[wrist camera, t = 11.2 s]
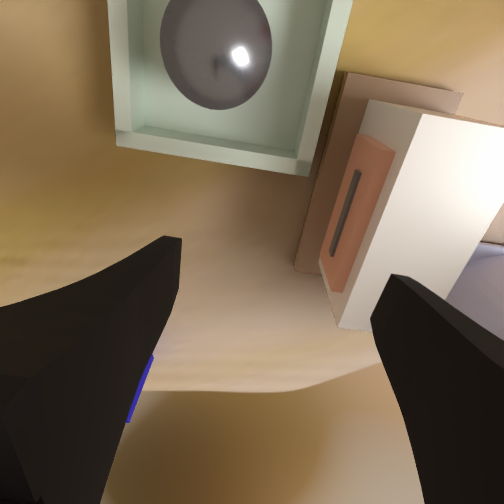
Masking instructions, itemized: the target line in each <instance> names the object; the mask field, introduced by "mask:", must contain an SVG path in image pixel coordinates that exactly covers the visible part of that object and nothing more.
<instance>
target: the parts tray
mask: <svg viewBox="0 0 504 504" xmlns="http://www.w3.org/2000/svg"><path fill="white" fill-rule="evenodd" d="M169 2H170V0H107V3H108V19H109V35H110V51H111V67H112V84H113V100H114V116H115V132H116V146H121V147H127V148H133V149H139V150H145V151H151V152H157V153H163V154H169V155H176V156H182V157H188V158H194V159H200V160H206V161H212V162H218V163H225V164H231V165H237V166H243V167H249V168H255V169H261V170H267V171H274V172H280V173H286V174H292V175H298V176H304V177H309V173H310V169H311V165H312V161H313V157H314V153H315V149H316V145H317V141H318V137H319V134H320V130H321V126H322V122H323V118H324V114H325V110H326V106H327V102H328V98H329V94H330V90H331V86H332V82H333V78H334V74H335V70H336V66H337V62H338V58H339V54H340V50H341V46H342V42H343V38H344V34H345V30H346V26H347V22H348V18H349V14H350V10H351V6H352V2H353V0H258V2H259V3H260V5H261V6H262V8H263V10H264V12H265V14H266V17H267V20H268V23H269V26H270V30H271V37H272V57H271V63H270V67H269V70H268V73H267V76H266V78H265V80H264V82H263V84H262V85H261V87H260V88H259V90H258V91H257V92H256V93H255V94H254V95H253V96H252V97H251V98H250V99H249V100H248V101H246V102H245V103H243V104H241V105H239V106H237V107H234V108H231V109H226V110H212V109H207V108H204V107H201V106H199V105H197V104H195V103H193V102H191V101H190V100H189V99H187V98H186V97H185V96H184V95H183V94H182V93H181V92H180V91H179V90H178V89H177V88H176V86H175V85H174V84H173V82H172V81H171V79H170V77H169V75H168V73H167V71H166V69H165V66H164V63H163V59H162V56H161V49H160V28H161V22H162V18H163V15H164V12H165V10H166V7H167V5H168V3H169Z"/></svg>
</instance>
